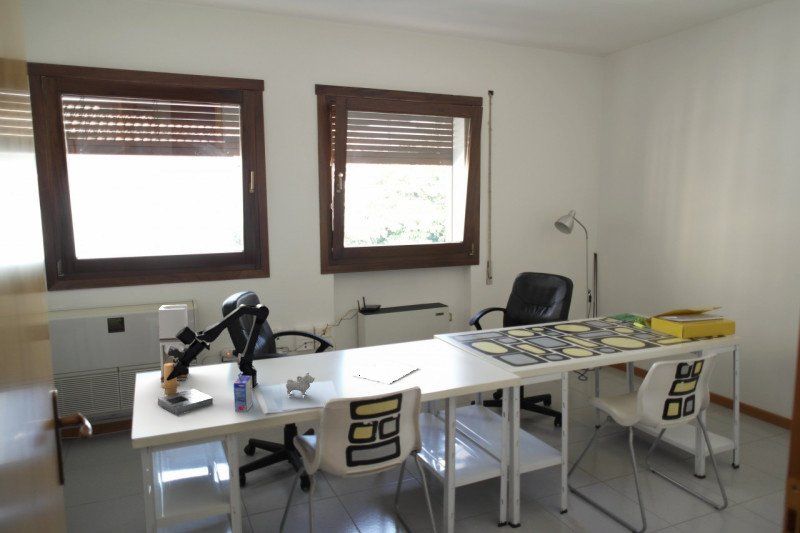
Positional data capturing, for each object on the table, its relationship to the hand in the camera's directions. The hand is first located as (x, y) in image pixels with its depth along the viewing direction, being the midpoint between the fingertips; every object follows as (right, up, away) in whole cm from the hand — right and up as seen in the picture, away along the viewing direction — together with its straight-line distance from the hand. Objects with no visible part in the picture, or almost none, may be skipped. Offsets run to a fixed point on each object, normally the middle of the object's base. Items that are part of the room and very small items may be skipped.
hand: (166, 378), depth 229 cm
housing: (+11, -9, -8) cm, 17 cm away
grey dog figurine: (+58, -9, +5) cm, 58 cm away
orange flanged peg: (+1, -7, +1) cm, 7 cm away
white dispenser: (-7, -5, +26) cm, 27 cm away
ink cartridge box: (+36, -10, -9) cm, 39 cm away
